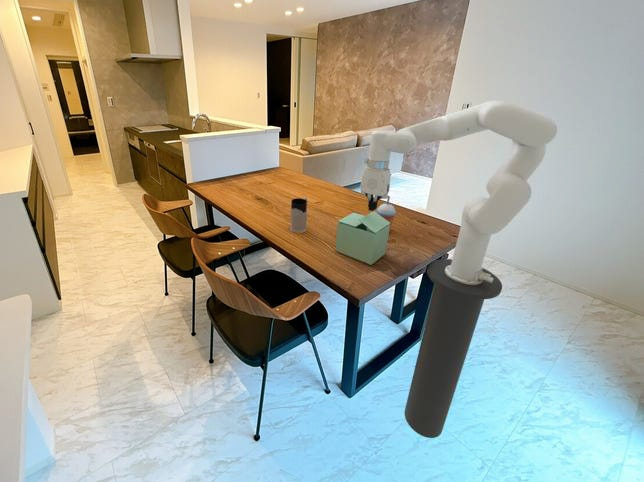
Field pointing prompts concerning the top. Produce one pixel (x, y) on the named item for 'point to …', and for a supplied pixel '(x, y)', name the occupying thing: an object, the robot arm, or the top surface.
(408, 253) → the top surface
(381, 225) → the flap
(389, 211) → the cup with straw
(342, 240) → the carton
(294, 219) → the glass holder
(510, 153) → the robot arm
